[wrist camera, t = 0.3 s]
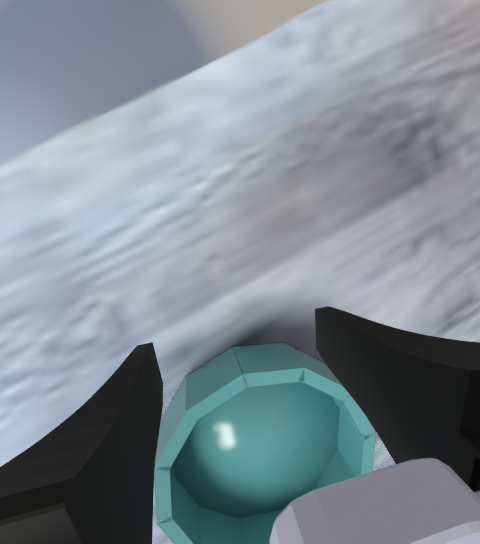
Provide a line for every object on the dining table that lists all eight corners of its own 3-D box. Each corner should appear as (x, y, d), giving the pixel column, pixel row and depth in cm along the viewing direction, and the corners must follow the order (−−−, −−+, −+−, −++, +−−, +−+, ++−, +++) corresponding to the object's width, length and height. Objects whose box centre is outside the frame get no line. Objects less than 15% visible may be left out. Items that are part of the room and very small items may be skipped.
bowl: (287, 533, 27) (306, 591, 23) (125, 484, 23) (111, 543, 19) (373, 387, 27) (410, 418, 22) (221, 312, 23) (230, 331, 18)
